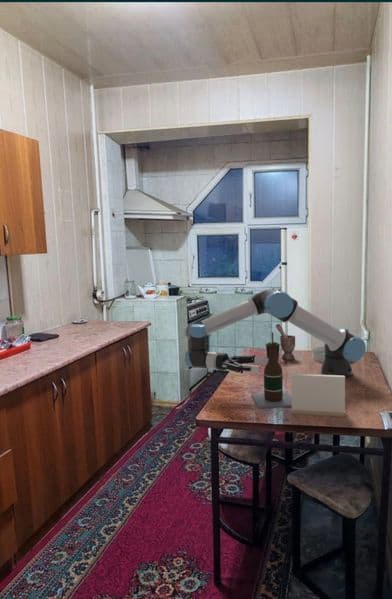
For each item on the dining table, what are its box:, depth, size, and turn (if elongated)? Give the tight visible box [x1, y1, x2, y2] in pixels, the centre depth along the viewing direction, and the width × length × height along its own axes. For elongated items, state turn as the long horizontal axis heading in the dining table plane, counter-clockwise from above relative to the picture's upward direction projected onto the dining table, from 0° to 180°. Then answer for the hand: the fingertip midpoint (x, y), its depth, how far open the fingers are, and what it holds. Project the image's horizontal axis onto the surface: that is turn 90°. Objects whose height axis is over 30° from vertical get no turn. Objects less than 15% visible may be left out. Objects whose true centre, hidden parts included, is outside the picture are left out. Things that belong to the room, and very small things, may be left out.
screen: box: [291, 373, 346, 418], centre depth 178 cm, size 20×6×15 cm, turn 75°
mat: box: [251, 392, 292, 409], centre depth 194 cm, size 16×16×1 cm
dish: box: [311, 346, 351, 363], centre depth 262 cm, size 22×22×5 cm
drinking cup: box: [265, 332, 281, 360], centre depth 242 cm, size 8×8×20 cm
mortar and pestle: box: [275, 323, 296, 361], centre depth 265 cm, size 12×9×20 cm
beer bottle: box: [263, 342, 284, 402], centre depth 192 cm, size 8×8×24 cm
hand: (264, 365), depth 193 cm, fingers open, 13 cm apart
